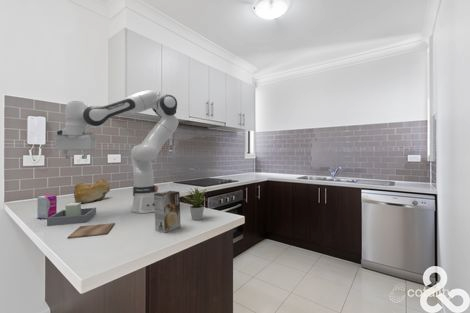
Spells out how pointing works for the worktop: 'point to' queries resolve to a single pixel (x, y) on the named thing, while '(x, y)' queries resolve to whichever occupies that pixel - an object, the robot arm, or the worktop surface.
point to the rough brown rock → (91, 191)
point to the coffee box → (167, 211)
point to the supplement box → (46, 206)
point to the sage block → (73, 209)
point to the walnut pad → (92, 230)
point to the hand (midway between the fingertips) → (75, 158)
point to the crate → (71, 217)
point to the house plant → (196, 204)
